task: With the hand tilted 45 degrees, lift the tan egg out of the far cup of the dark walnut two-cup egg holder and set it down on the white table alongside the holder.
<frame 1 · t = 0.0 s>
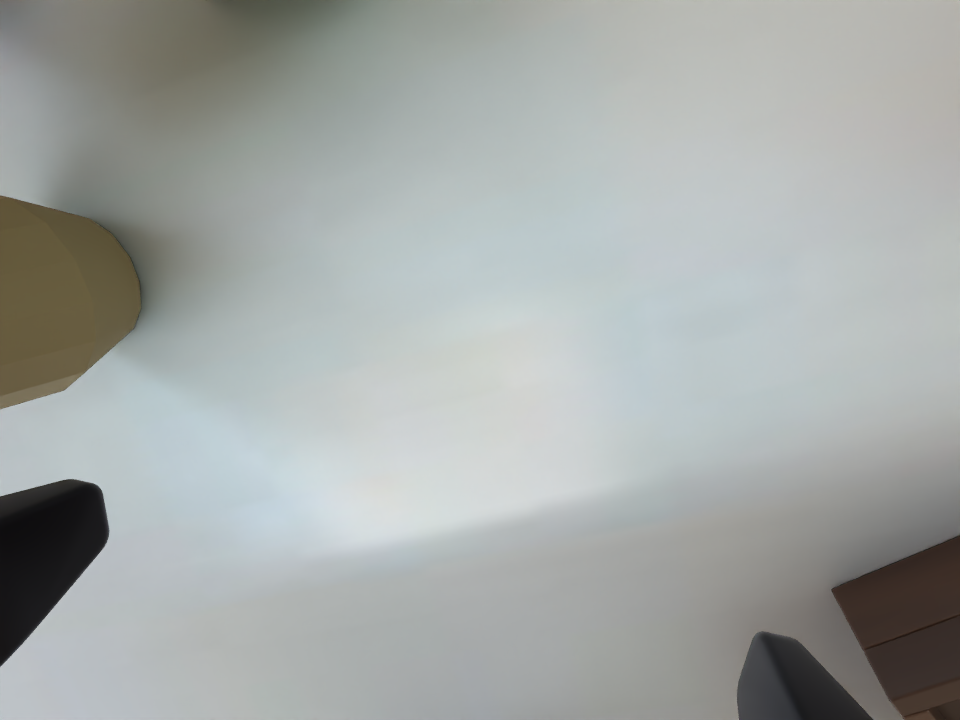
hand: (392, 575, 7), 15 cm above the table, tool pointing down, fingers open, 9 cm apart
squeeze bottle: (91, 279, 25), on the table
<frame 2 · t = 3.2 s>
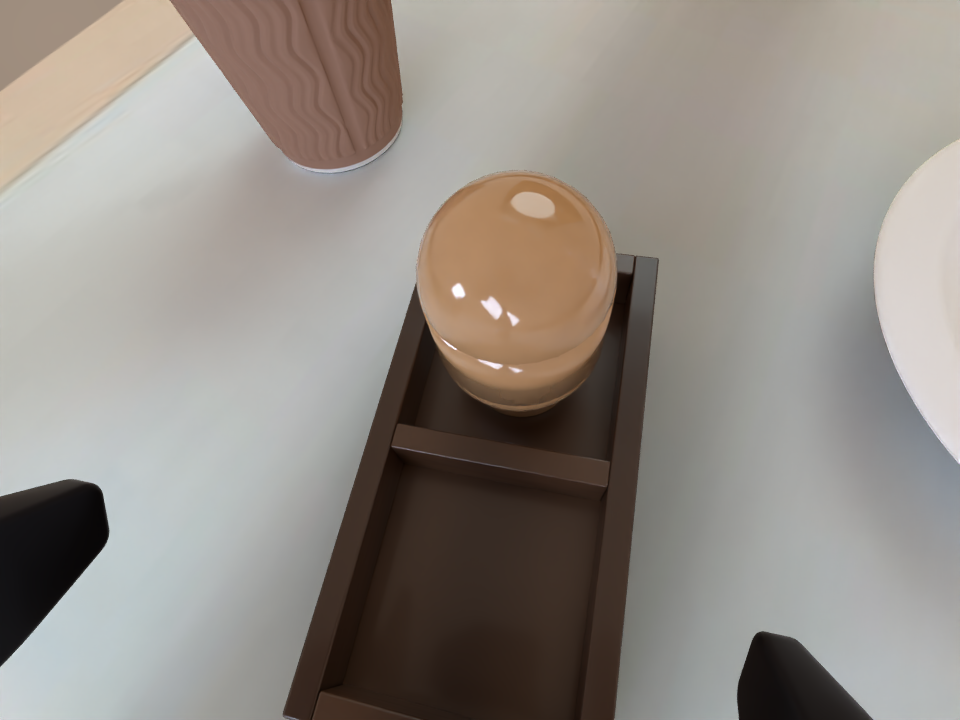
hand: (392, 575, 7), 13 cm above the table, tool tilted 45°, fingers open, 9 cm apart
egg holder: (506, 490, 21), on the table
egg: (521, 370, 20), point 3 cm above the table, touching egg holder
coffee cup: (342, 130, 31), on the table
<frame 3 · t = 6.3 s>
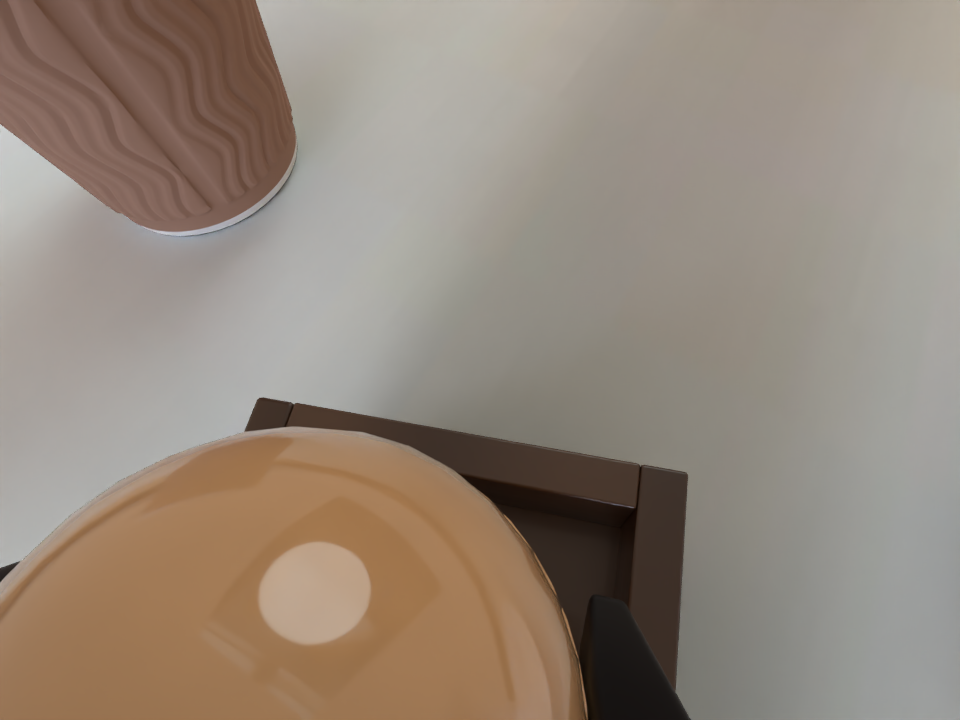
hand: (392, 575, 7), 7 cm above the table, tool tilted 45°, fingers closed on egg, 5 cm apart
egg: (421, 670, 10), point 3 cm above the table, touching egg holder, gripper
coffee cup: (213, 169, 21), on the table
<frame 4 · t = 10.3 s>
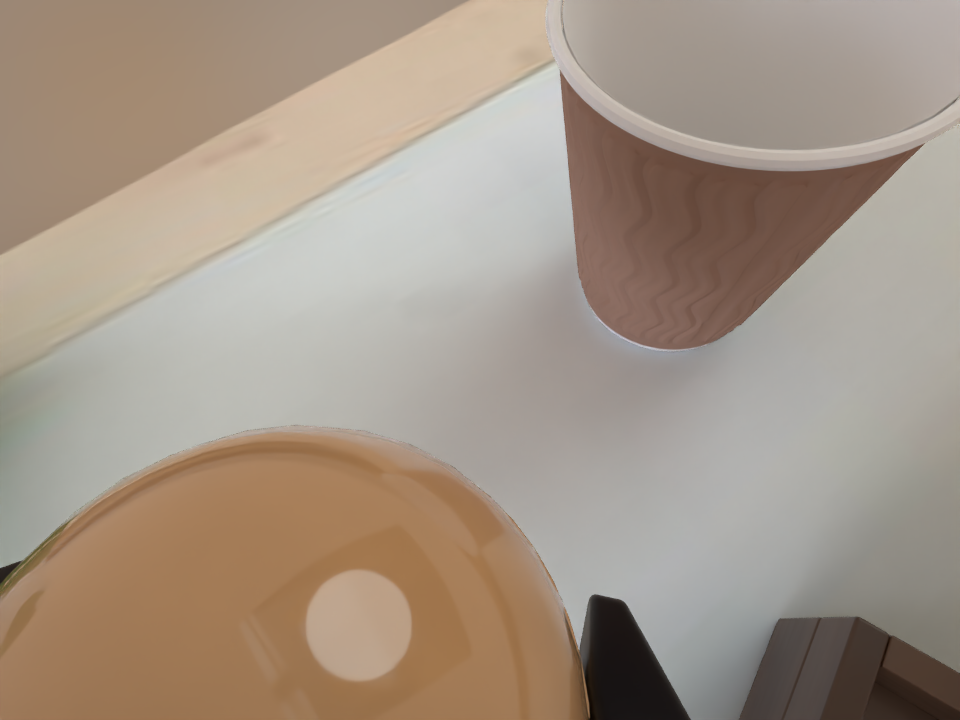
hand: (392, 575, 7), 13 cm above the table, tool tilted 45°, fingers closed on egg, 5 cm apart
egg: (422, 670, 10), point 9 cm above the table, touching gripper
coffee cup: (662, 284, 24), on the table
when the fingers open (4 cm above the table, at t = 14.4 s): egg stays where it is, on the table.
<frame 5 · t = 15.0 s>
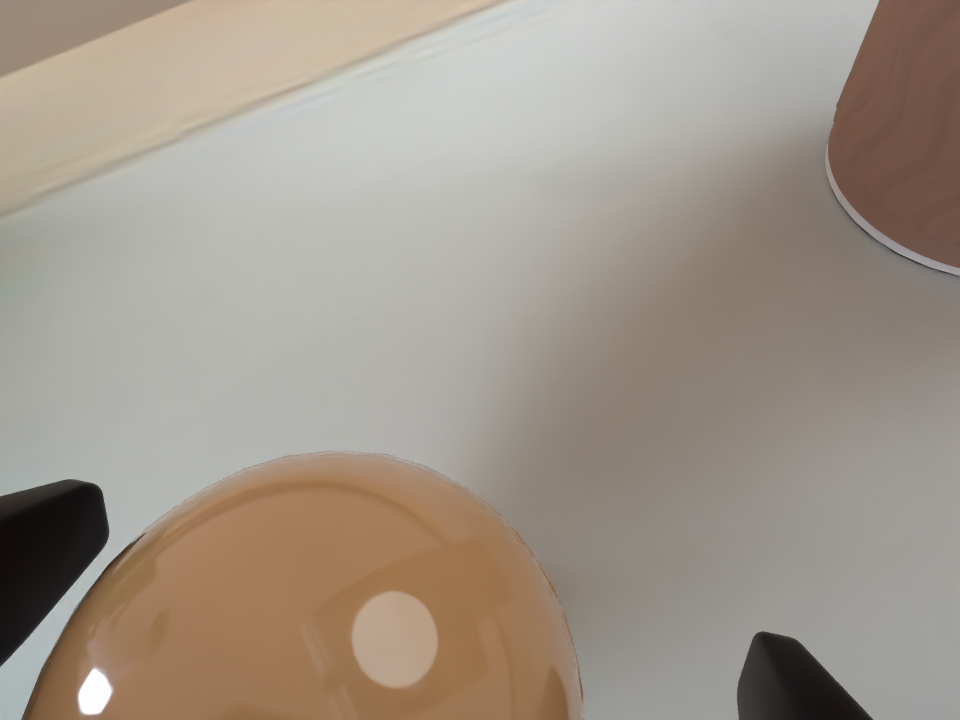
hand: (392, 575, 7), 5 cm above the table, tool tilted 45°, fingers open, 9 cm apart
egg: (431, 666, 11), on the table
coffee cup: (955, 182, 15), on the table
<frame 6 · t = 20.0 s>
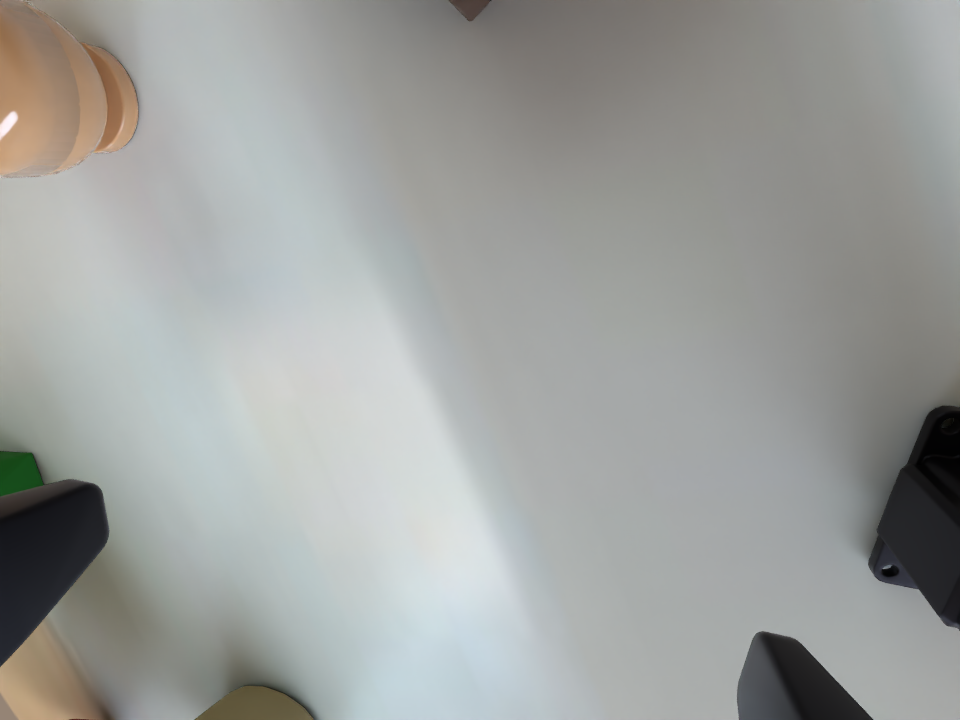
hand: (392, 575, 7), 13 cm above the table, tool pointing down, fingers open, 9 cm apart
egg: (96, 100, 20), on the table
milk carton: (6, 509, 29), on the table
onion: (112, 719, 33), on the table
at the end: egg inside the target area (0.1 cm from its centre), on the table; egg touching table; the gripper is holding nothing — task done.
